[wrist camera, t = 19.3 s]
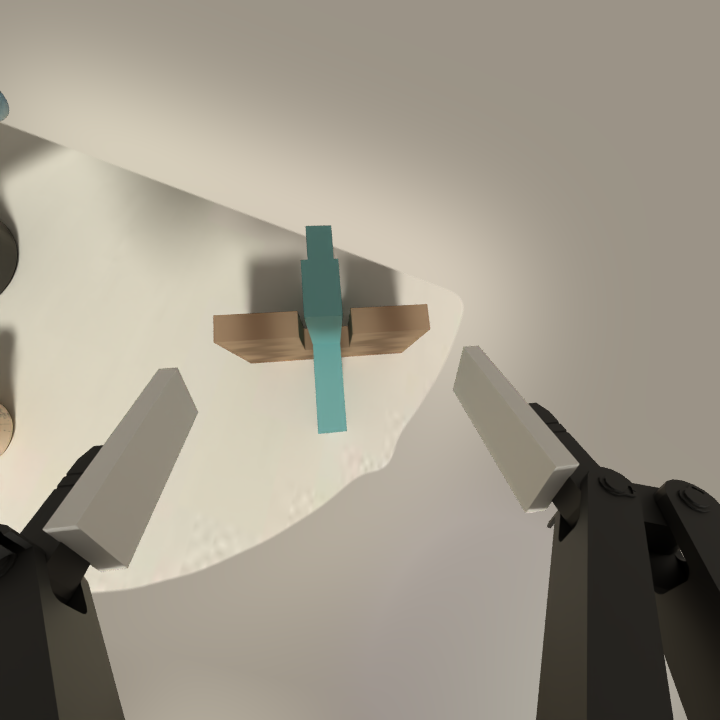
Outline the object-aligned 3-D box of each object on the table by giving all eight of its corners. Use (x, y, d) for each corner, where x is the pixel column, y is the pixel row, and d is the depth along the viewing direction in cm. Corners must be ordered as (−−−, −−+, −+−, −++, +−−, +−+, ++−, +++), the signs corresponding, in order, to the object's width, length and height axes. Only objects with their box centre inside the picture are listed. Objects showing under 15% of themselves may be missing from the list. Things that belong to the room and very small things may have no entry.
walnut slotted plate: (251, 363, 37) (213, 342, 26) (250, 344, 38) (213, 315, 26) (401, 352, 39) (430, 328, 28) (399, 335, 40) (427, 304, 28)
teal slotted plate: (342, 424, 37) (352, 440, 18) (323, 425, 37) (311, 445, 17) (331, 279, 40) (329, 155, 21) (313, 279, 40) (294, 156, 21)
